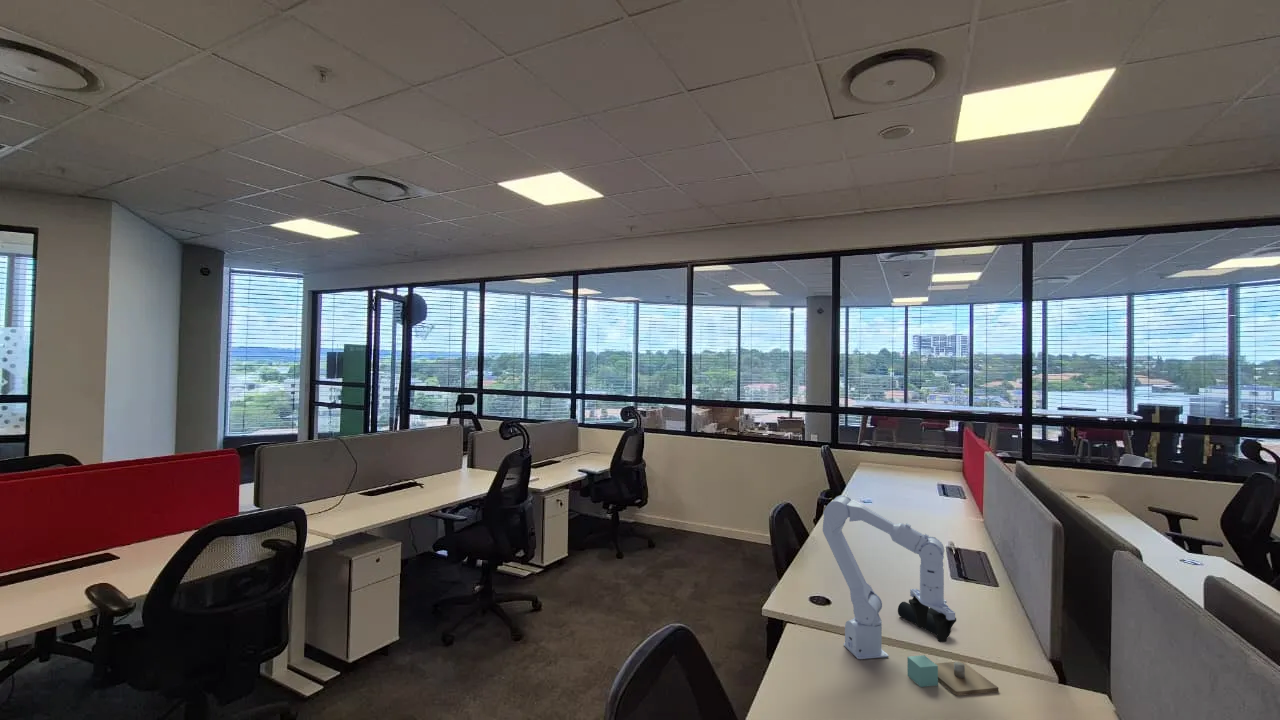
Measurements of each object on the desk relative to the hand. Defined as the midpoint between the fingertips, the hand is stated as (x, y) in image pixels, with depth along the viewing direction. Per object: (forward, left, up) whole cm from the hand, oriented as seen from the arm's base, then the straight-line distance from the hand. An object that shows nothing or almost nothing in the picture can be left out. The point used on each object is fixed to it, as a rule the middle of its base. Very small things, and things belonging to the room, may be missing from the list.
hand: (931, 634), depth 140 cm
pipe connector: (+17, +23, -10) cm, 30 cm away
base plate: (+4, -5, -10) cm, 12 cm away
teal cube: (-6, -4, -10) cm, 12 cm away
